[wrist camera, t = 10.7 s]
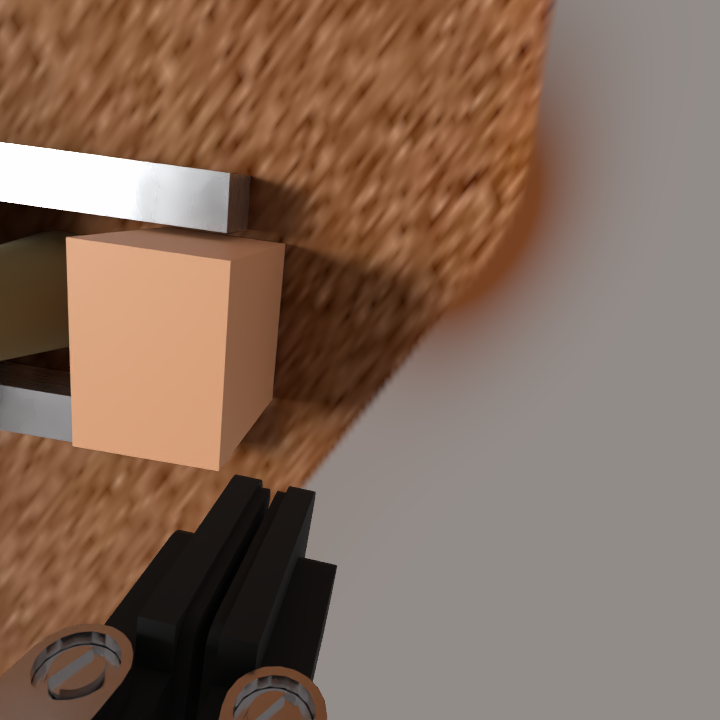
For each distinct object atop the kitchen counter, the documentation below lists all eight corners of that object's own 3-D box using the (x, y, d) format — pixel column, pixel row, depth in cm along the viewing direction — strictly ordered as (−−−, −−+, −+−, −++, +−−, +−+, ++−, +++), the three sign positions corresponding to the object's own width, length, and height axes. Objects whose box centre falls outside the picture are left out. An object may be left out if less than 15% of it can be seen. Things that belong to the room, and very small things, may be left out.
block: (167, 227, 27) (66, 237, 19) (285, 243, 26) (230, 260, 19) (163, 381, 29) (72, 446, 21) (272, 399, 29) (218, 471, 21)
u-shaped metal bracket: (-62, 134, 27) (-194, 116, 21) (251, 176, 26) (202, 169, 20) (-37, 395, 31) (-141, 439, 25) (233, 440, 30) (189, 497, 24)
